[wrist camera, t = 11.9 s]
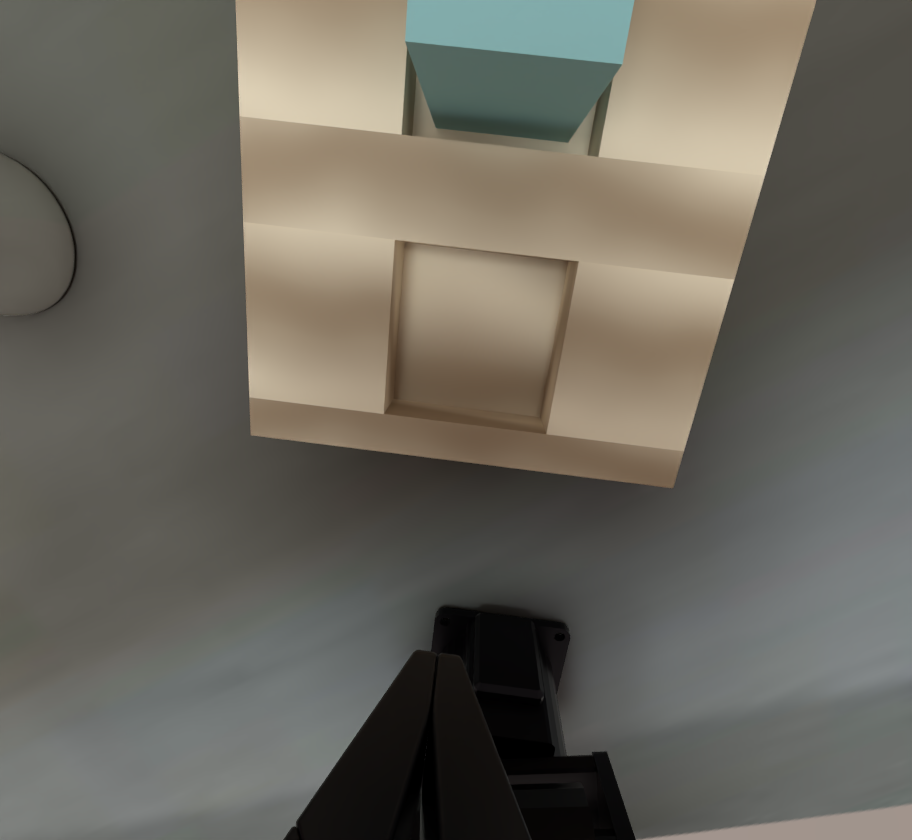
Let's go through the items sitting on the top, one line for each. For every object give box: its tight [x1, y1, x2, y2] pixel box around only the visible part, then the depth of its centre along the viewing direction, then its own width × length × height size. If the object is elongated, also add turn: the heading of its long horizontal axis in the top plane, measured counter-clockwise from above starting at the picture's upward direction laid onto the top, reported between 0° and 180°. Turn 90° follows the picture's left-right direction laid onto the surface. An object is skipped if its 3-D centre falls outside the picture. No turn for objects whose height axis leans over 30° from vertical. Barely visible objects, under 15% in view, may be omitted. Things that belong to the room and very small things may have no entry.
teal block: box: [405, 0, 634, 143], centre depth 12 cm, size 4×4×6 cm
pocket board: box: [236, 0, 816, 488], centre depth 16 cm, size 18×16×2 cm
